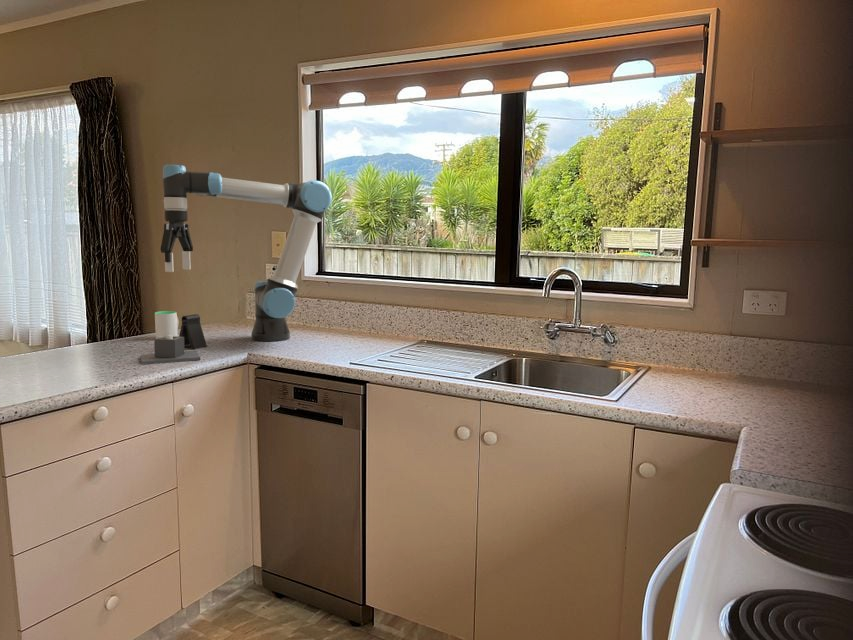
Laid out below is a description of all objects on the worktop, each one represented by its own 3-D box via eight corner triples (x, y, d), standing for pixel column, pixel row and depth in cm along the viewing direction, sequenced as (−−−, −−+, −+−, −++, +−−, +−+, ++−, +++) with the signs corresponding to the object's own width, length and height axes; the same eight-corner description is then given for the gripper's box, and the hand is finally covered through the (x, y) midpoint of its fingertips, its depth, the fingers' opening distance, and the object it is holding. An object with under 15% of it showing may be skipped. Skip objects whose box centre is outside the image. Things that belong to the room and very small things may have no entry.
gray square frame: (184, 354, 216) (184, 335, 215) (175, 357, 209) (174, 339, 208) (164, 353, 216) (164, 335, 216) (154, 356, 210) (154, 338, 209)
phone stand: (207, 347, 234) (205, 315, 233) (194, 349, 229) (193, 317, 227) (189, 344, 238) (188, 313, 237) (176, 347, 233) (175, 315, 231)
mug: (166, 334, 259) (165, 309, 257) (185, 335, 258) (184, 310, 256) (151, 339, 247) (150, 313, 245) (171, 340, 246) (170, 314, 245)
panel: (196, 353, 222) (195, 331, 221) (200, 360, 212) (199, 336, 210) (140, 357, 214) (139, 334, 213) (141, 364, 204) (140, 340, 202)
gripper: (181, 210, 234) (183, 268, 237) (147, 208, 209) (150, 272, 212) (201, 211, 233) (203, 268, 236) (169, 209, 209) (172, 273, 212)
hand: (178, 270), depth 224 cm, fingers open, 13 cm apart
